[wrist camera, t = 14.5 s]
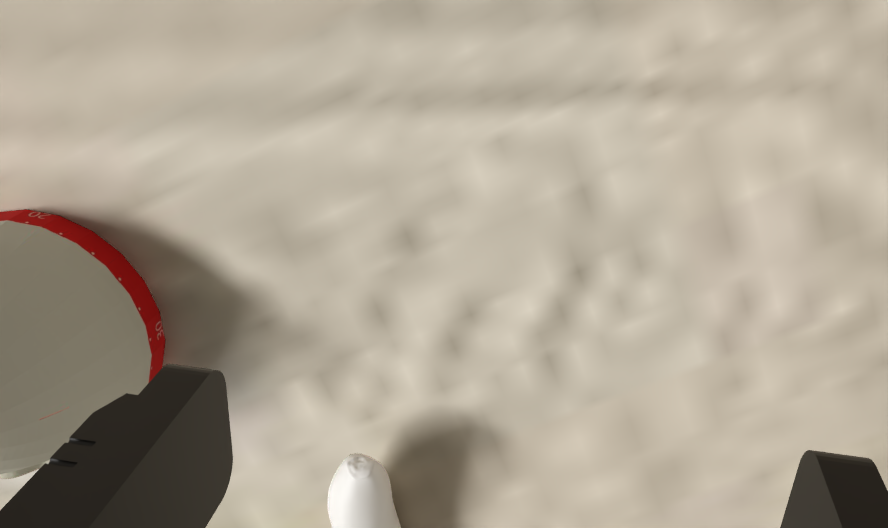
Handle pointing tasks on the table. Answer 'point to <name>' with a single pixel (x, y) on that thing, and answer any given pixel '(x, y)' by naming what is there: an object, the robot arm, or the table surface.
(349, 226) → the table surface
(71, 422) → the kitchen timer
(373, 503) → the banana
